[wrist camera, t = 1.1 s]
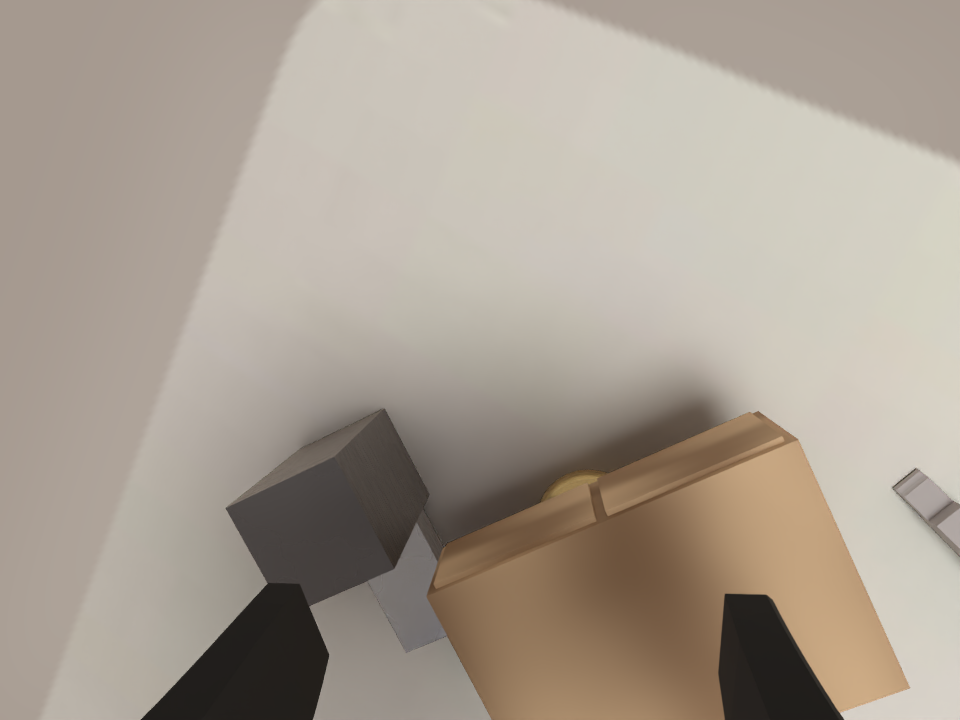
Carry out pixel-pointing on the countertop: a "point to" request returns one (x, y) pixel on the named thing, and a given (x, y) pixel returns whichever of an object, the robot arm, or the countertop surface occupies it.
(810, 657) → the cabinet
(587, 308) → the countertop surface
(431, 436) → the countertop surface
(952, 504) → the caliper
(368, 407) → the countertop surface
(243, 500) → the dark grey block
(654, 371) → the countertop surface
